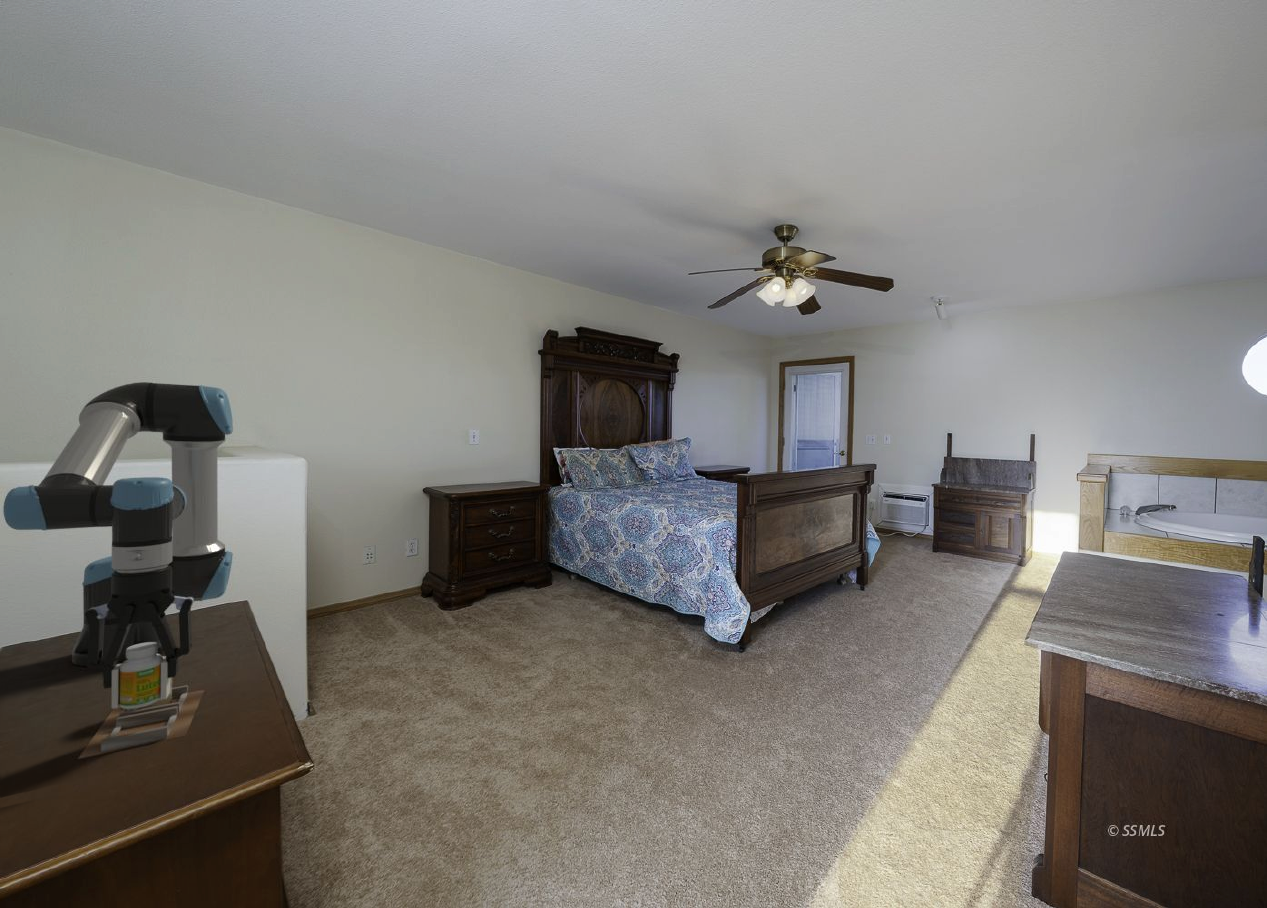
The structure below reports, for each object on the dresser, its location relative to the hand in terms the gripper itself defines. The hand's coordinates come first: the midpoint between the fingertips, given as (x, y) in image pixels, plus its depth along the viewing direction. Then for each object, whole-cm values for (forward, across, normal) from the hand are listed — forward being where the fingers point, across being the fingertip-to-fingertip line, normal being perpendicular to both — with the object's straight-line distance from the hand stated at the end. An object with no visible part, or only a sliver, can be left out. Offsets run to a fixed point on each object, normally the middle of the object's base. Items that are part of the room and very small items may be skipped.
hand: (141, 699), depth 87 cm
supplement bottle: (+1, 0, 0) cm, 1 cm away
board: (+7, 0, +4) cm, 8 cm away
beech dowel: (+6, 0, +9) cm, 11 cm away
